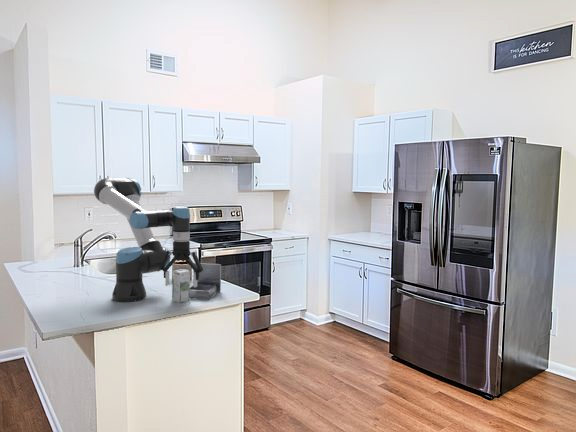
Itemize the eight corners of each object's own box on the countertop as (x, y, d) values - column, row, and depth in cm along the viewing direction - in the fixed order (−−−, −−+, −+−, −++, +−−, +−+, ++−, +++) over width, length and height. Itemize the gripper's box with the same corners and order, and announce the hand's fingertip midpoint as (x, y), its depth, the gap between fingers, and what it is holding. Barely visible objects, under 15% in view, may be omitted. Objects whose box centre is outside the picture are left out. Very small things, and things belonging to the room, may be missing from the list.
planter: (177, 282, 247) (177, 265, 246) (168, 279, 255) (168, 262, 254) (195, 280, 254) (195, 263, 253) (185, 276, 262) (186, 260, 261)
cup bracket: (182, 297, 218) (183, 268, 217) (194, 289, 234) (194, 262, 232) (211, 299, 216) (211, 270, 215) (220, 291, 232) (221, 264, 230)
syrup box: (181, 298, 217) (182, 268, 216) (189, 301, 213) (190, 270, 212) (171, 300, 213) (172, 270, 211) (179, 303, 209) (180, 272, 208)
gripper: (152, 240, 209) (152, 286, 210) (204, 242, 205) (204, 289, 207) (159, 238, 216) (159, 282, 218) (210, 240, 212) (209, 285, 214)
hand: (181, 285), depth 212 cm, fingers open, 13 cm apart
